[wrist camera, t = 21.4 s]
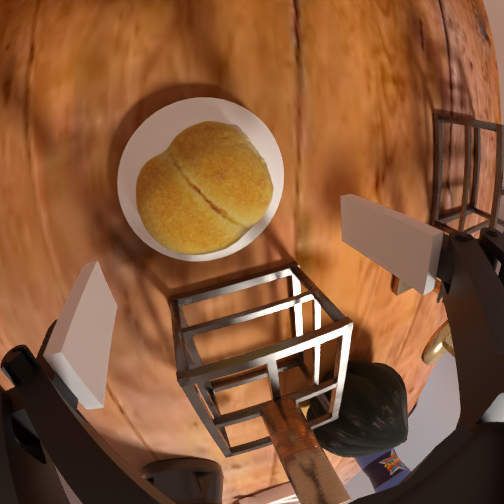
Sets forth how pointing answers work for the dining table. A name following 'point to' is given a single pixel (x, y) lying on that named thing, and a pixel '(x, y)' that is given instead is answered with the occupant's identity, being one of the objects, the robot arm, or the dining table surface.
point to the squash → (364, 412)
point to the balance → (440, 338)
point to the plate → (160, 137)
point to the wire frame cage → (501, 162)
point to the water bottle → (383, 469)
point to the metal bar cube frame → (271, 380)
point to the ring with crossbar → (273, 496)
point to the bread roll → (204, 189)
